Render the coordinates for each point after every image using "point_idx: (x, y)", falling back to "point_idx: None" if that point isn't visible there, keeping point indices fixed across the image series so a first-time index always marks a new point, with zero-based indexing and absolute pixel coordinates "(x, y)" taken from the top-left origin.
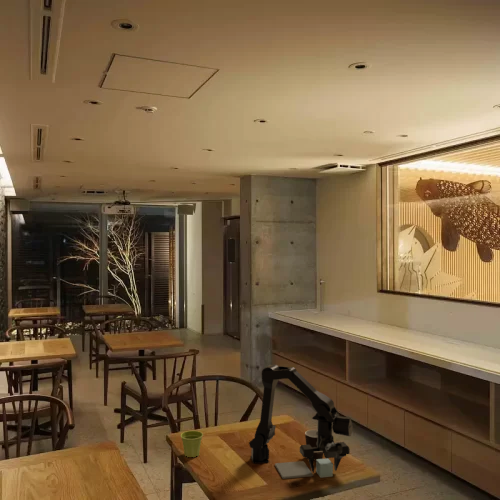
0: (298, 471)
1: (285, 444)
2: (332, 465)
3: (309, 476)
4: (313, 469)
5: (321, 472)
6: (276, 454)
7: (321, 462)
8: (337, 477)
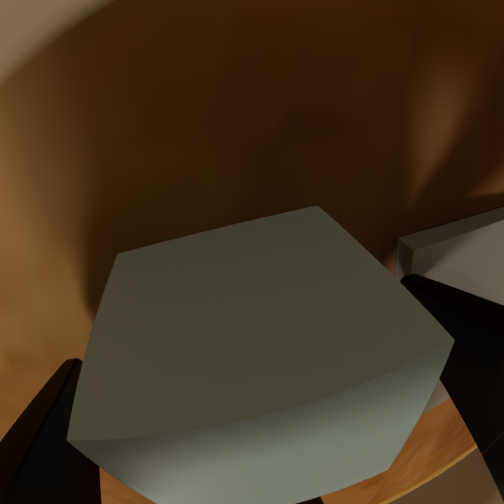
0: (487, 290)
1: (354, 493)
2: (82, 400)
3: (430, 229)
4: (441, 293)
5: (336, 242)
6: (432, 436)
7: (367, 440)
8: (49, 227)
